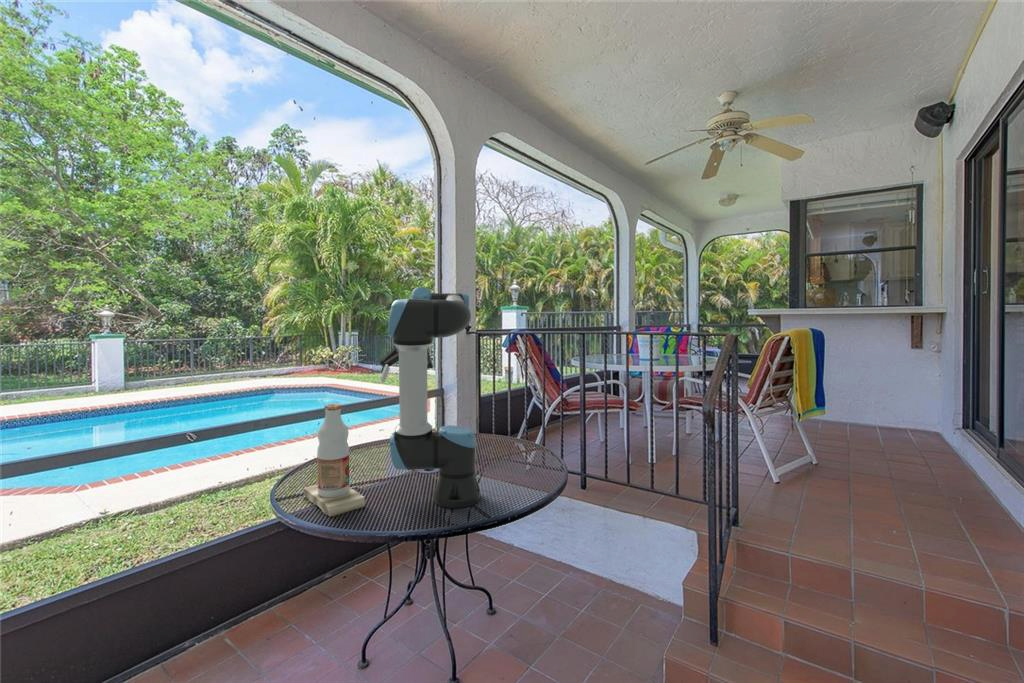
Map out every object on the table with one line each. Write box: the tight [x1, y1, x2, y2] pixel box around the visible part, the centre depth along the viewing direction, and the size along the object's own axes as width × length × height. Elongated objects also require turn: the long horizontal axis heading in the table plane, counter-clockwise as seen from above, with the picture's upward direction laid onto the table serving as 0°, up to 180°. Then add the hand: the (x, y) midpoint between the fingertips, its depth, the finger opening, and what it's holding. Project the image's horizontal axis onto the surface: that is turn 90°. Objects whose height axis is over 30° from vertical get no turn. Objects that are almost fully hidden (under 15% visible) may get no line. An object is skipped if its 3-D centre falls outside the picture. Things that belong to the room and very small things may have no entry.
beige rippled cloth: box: [303, 484, 366, 518], centre depth 142 cm, size 20×11×3 cm, turn 45°
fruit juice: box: [316, 403, 350, 498], centre depth 141 cm, size 9×9×28 cm
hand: (399, 381), depth 161 cm, fingers open, 13 cm apart
